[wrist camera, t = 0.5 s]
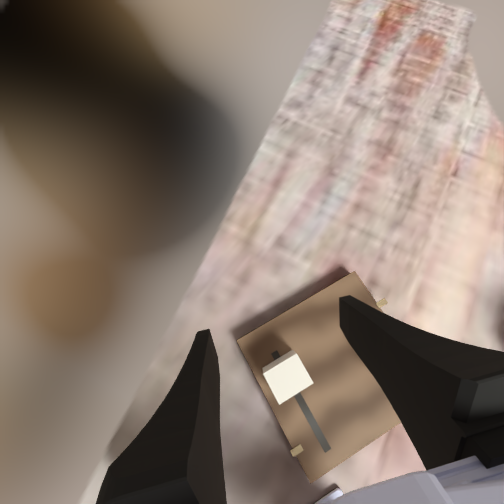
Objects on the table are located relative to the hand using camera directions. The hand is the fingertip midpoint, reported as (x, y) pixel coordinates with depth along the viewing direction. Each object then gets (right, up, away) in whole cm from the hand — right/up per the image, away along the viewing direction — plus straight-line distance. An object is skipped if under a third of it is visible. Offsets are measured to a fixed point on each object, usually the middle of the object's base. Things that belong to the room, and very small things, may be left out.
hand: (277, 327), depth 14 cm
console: (+10, -13, +24) cm, 29 cm away
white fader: (+3, -13, +22) cm, 26 cm away
